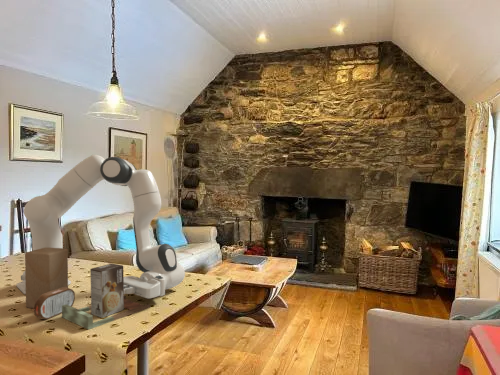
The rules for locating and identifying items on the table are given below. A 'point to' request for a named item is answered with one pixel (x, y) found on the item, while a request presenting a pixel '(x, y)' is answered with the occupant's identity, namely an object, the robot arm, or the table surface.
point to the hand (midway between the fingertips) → (119, 291)
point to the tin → (53, 302)
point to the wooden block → (45, 272)
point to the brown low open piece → (87, 320)
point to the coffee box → (107, 290)
